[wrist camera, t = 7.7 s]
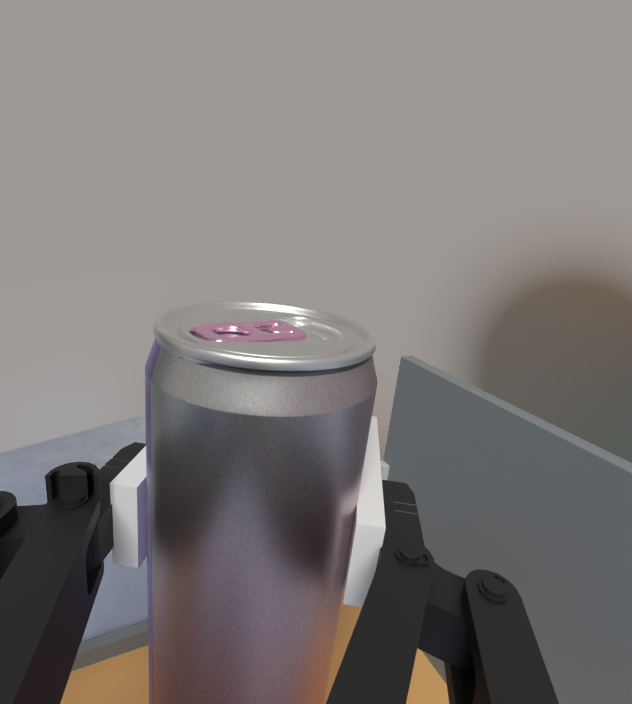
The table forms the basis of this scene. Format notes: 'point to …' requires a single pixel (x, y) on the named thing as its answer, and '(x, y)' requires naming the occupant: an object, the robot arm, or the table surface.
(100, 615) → the table surface
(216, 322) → the beverage can
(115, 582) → the table surface
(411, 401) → the equipment case
